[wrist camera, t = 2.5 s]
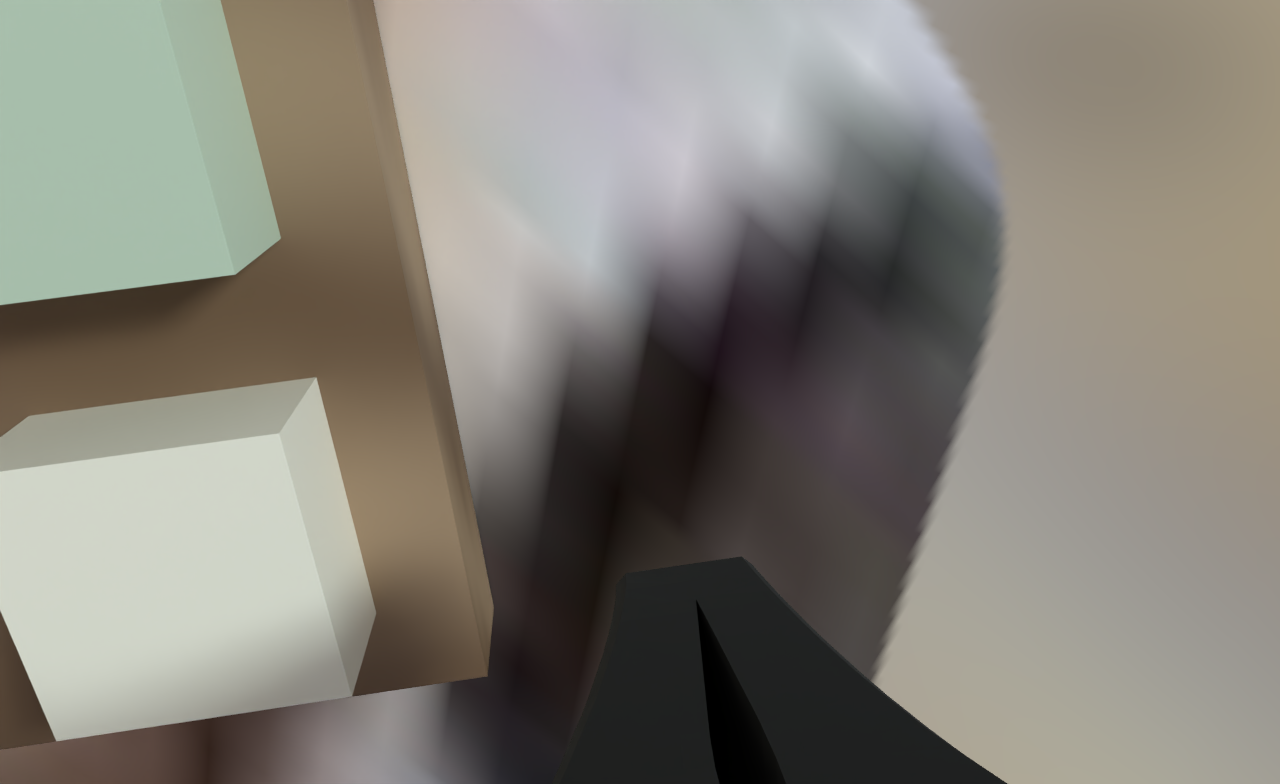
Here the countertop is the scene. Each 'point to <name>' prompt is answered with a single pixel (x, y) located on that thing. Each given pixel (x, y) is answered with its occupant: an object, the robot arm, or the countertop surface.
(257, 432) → the cream tile
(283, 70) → the walnut board
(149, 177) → the green tile
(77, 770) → the countertop surface
